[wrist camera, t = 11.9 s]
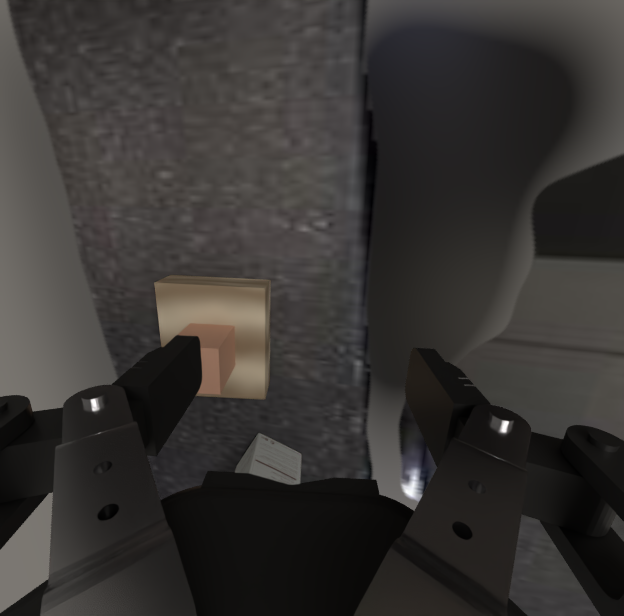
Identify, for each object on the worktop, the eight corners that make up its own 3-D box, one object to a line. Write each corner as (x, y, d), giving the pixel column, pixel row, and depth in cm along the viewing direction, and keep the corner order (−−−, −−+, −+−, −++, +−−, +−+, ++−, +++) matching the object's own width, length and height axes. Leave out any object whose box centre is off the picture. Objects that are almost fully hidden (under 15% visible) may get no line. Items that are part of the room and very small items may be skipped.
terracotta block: (190, 323, 35) (165, 345, 30) (234, 325, 35) (218, 348, 30) (193, 362, 37) (170, 391, 31) (235, 365, 37) (220, 394, 31)
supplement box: (278, 485, 48) (265, 580, 36) (235, 465, 46) (206, 555, 34) (303, 452, 46) (298, 541, 34) (259, 430, 44) (237, 513, 32)
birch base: (170, 274, 38) (154, 282, 34) (270, 279, 38) (265, 288, 34) (180, 377, 42) (166, 394, 38) (269, 381, 42) (265, 399, 38)
